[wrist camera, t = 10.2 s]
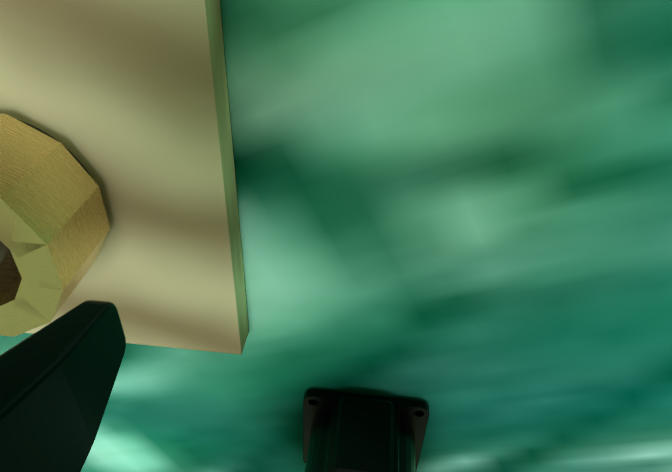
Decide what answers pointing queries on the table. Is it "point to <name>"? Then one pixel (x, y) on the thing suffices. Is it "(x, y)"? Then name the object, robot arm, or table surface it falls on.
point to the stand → (141, 155)
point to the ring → (43, 226)
